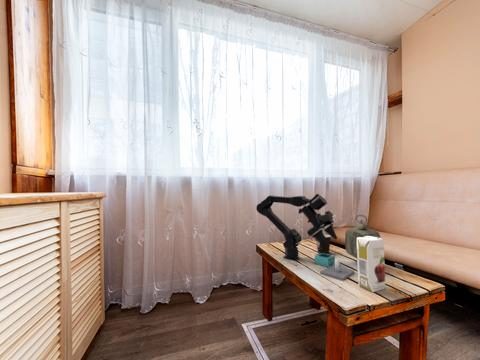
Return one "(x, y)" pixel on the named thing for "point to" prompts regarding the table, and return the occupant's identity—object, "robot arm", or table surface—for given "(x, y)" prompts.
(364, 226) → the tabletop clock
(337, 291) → the table surface
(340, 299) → the table surface
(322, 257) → the teal square ring
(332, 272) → the station
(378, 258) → the juice carton
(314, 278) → the table surface
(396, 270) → the table surface
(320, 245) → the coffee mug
